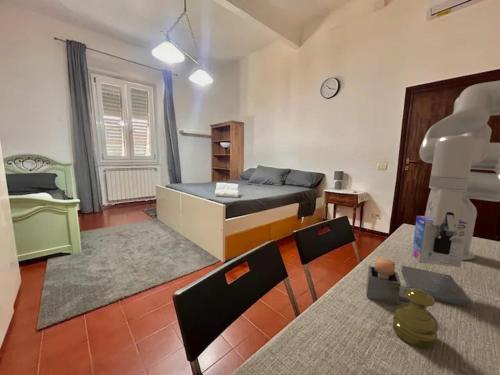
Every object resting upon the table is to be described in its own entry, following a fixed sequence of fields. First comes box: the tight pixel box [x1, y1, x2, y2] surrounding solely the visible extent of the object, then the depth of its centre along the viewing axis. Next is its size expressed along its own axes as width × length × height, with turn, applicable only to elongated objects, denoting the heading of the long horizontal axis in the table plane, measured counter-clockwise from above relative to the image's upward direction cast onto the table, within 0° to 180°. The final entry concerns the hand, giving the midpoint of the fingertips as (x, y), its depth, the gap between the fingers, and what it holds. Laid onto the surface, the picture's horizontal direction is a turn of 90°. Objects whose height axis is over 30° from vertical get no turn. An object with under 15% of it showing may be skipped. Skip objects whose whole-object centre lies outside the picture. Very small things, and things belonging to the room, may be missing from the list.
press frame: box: [365, 265, 470, 309], centre depth 62 cm, size 21×22×6 cm
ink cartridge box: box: [411, 215, 468, 268], centre depth 61 cm, size 10×6×14 cm, turn 78°
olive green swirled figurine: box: [392, 288, 440, 350], centre depth 46 cm, size 7×7×10 cm
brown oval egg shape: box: [374, 257, 396, 280], centre depth 58 cm, size 4×4×6 cm
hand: (436, 247), depth 61 cm, fingers closed on ink cartridge box, 6 cm apart
